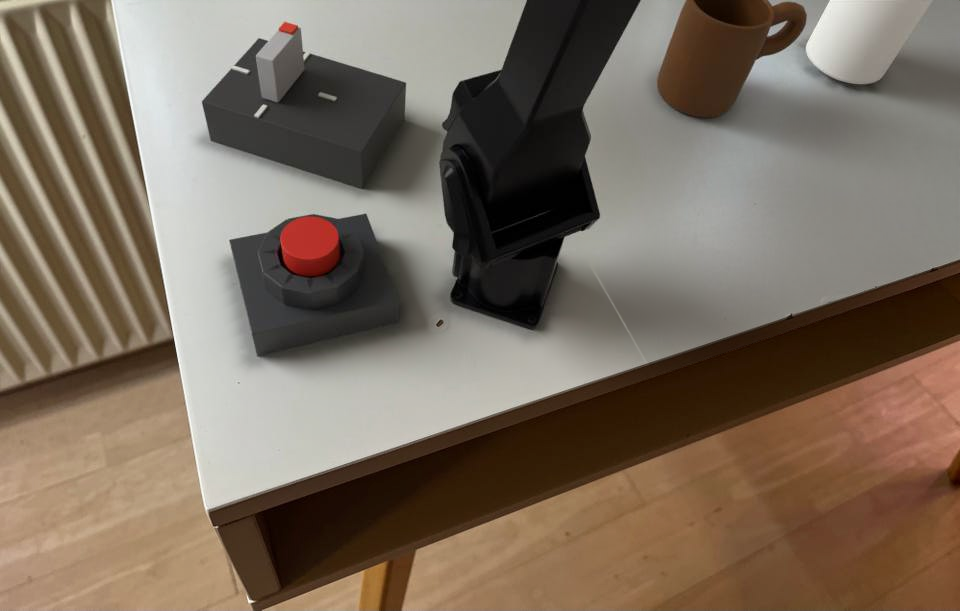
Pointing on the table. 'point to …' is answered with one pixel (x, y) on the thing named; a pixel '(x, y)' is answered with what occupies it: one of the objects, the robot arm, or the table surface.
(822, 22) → the beverage can
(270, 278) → the push button box
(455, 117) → the robot arm
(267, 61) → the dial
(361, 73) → the slider switch box
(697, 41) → the mug
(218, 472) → the table surface
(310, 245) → the stop button
